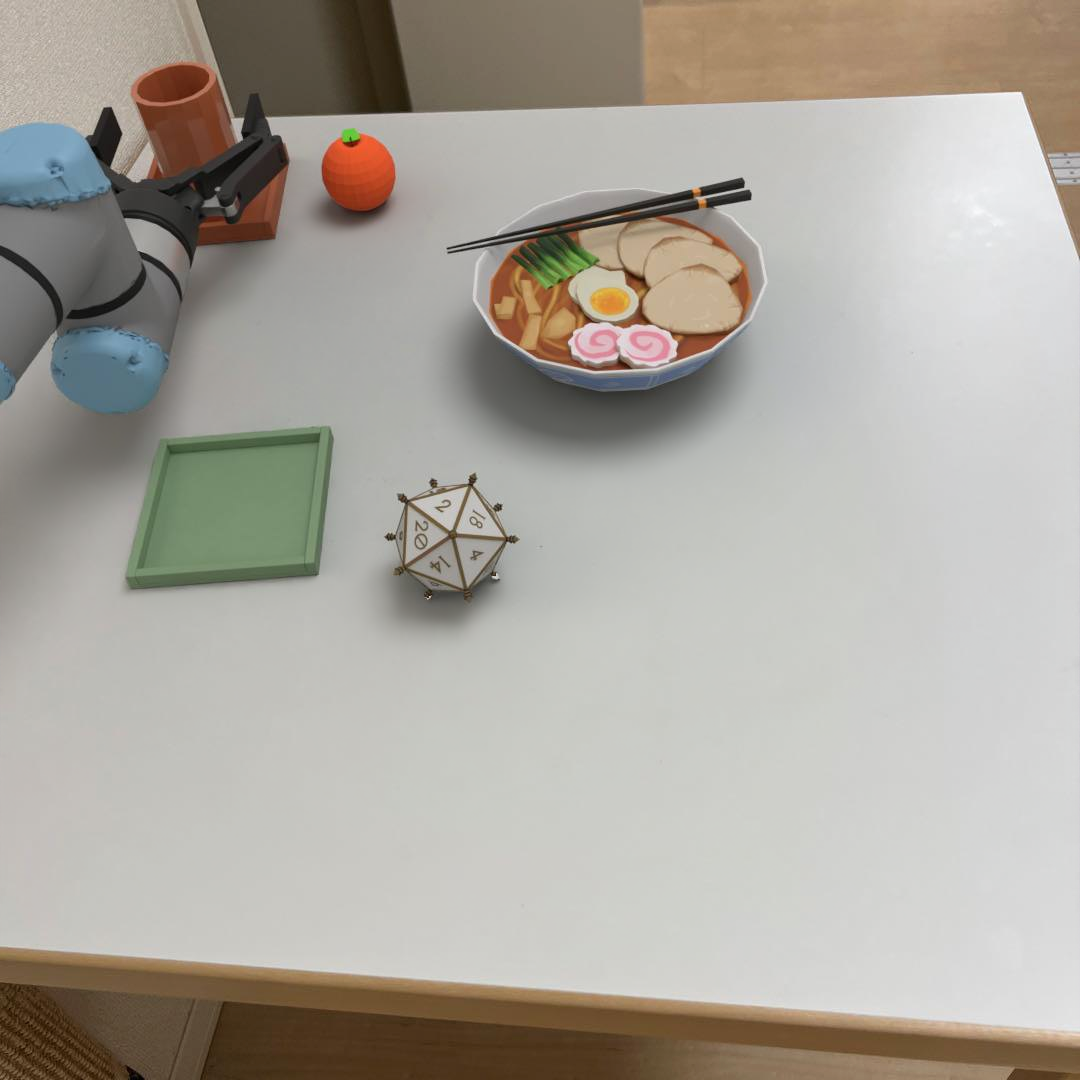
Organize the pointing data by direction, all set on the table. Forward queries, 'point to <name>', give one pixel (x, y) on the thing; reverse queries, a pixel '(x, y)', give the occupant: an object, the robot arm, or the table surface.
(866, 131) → the table surface
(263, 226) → the terracotta tray
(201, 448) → the sage tray
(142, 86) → the terracotta cup
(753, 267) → the ramen bowl
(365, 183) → the clementine
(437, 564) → the game die
